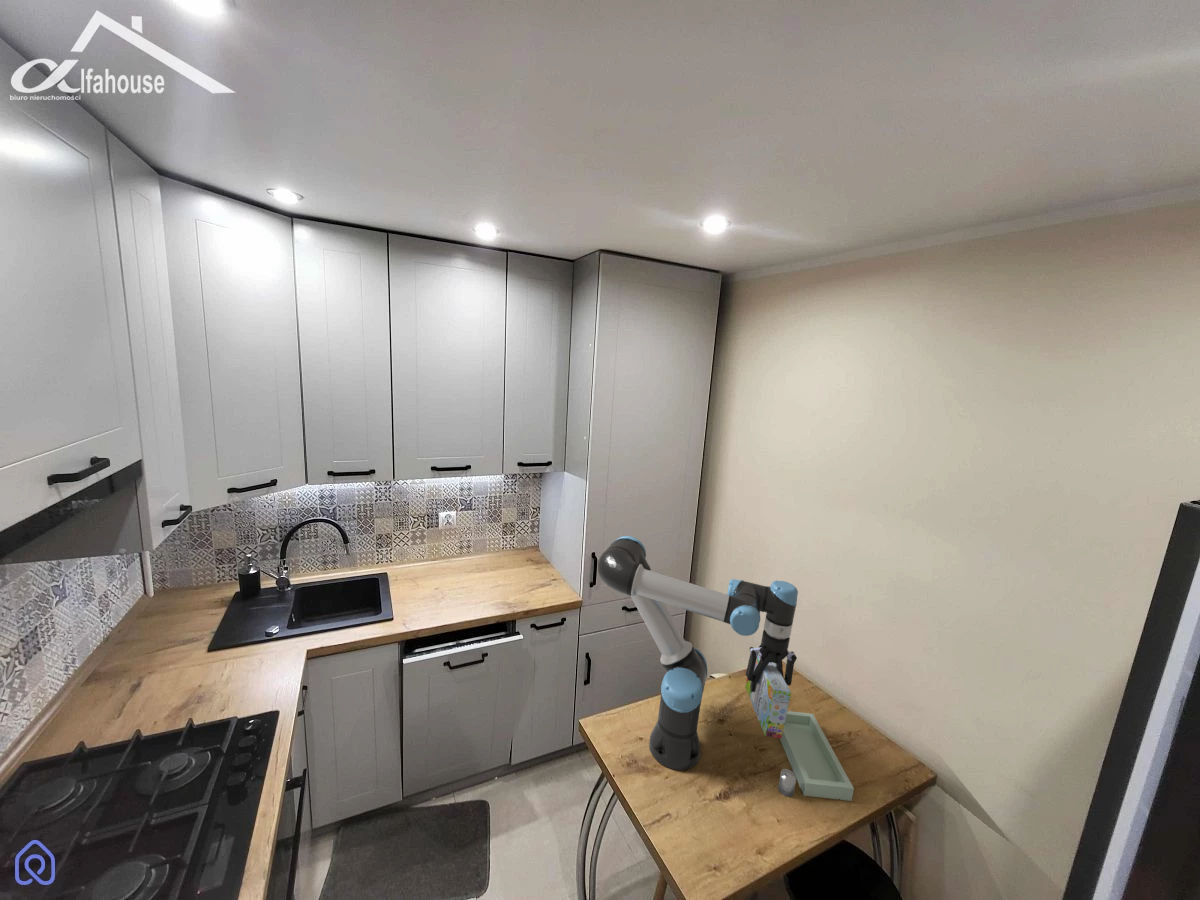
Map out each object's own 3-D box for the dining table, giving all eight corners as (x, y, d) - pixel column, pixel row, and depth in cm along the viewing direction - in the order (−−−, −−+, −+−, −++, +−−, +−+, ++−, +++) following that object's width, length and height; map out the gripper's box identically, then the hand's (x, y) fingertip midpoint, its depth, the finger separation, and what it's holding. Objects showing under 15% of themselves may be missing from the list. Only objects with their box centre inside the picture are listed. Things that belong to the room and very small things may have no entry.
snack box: (783, 739, 133) (792, 692, 130) (764, 737, 133) (772, 690, 130) (760, 688, 154) (768, 647, 151) (743, 687, 154) (750, 645, 151)
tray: (803, 795, 128) (805, 783, 128) (771, 720, 156) (773, 709, 155) (851, 800, 128) (854, 788, 127) (811, 724, 155) (812, 713, 155)
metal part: (781, 796, 128) (783, 780, 127) (776, 783, 132) (778, 768, 131) (795, 797, 127) (798, 782, 127) (790, 784, 131) (793, 769, 131)
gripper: (748, 636, 135) (736, 706, 139) (813, 644, 135) (799, 714, 139) (742, 622, 143) (730, 689, 147) (803, 629, 142) (790, 696, 146)
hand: (764, 701), depth 143 cm, fingers closed on snack box, 6 cm apart
